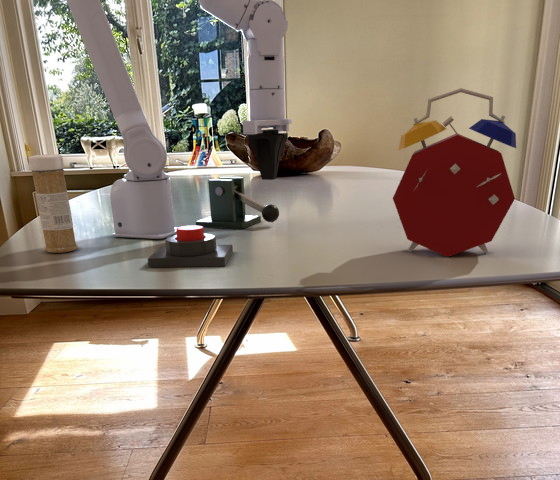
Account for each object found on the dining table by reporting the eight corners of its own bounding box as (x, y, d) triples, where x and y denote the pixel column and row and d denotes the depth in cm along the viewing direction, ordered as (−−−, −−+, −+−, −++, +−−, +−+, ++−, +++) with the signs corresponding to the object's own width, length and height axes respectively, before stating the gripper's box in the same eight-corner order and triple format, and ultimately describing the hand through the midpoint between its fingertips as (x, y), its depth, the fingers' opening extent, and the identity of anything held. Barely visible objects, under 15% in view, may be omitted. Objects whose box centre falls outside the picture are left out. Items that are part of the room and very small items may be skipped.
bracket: (261, 221, 108) (259, 176, 105) (242, 229, 101) (239, 181, 98) (216, 219, 111) (213, 176, 108) (195, 227, 104) (191, 180, 101)
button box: (148, 267, 77) (145, 244, 76) (162, 254, 85) (160, 232, 83) (225, 266, 77) (223, 243, 75) (232, 253, 84) (231, 231, 83)
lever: (278, 223, 104) (284, 208, 103) (271, 226, 102) (277, 210, 100) (221, 192, 106) (226, 176, 105) (213, 194, 104) (218, 178, 102)
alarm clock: (503, 248, 81) (522, 86, 73) (509, 263, 74) (532, 84, 66) (393, 246, 85) (400, 91, 77) (388, 259, 77) (396, 89, 69)
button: (174, 243, 78) (173, 230, 77) (180, 238, 81) (179, 225, 81) (201, 243, 78) (200, 229, 77) (206, 238, 81) (205, 224, 80)
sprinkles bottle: (75, 246, 92) (59, 153, 86) (79, 251, 88) (64, 154, 83) (43, 249, 90) (26, 155, 85) (47, 255, 86) (29, 156, 81)
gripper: (271, 87, 87) (274, 184, 93) (305, 90, 99) (305, 175, 105) (228, 89, 90) (233, 183, 95) (266, 91, 102) (269, 174, 107)
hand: (269, 179), depth 100 cm, fingers closed
